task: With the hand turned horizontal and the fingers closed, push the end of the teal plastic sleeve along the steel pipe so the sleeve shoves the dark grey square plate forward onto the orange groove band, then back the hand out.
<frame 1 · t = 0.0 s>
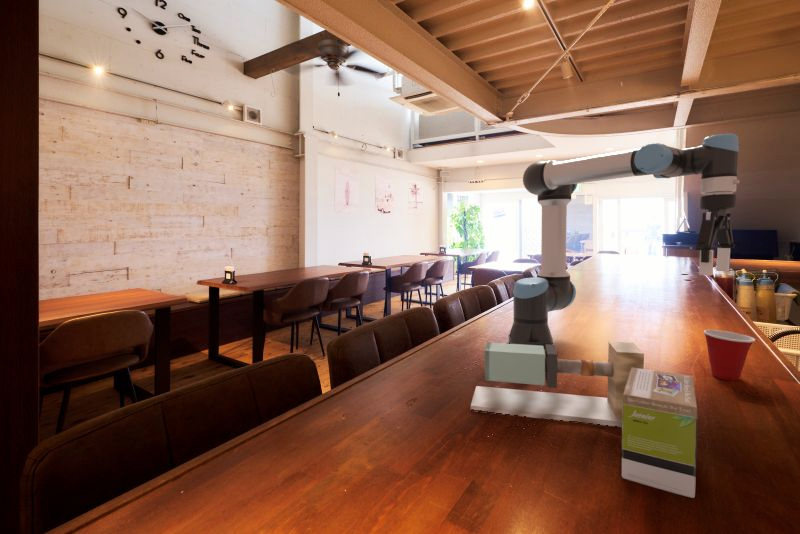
hand: (714, 273, 108), 28 cm above the counter, tool pointing down, fingers open, 13 cm apart
muffin: (519, 378, 111), on the counter
tea box: (657, 467, 68), on the counter
dark grey square plate: (550, 365, 90), point 10 cm above the counter, slide at 0.0 cm
pipe stand: (486, 401, 95), on the counter
plastic cup: (726, 377, 107), on the counter
sleeve: (514, 362, 93), point 10 cm above the counter, slide at 0.0 cm
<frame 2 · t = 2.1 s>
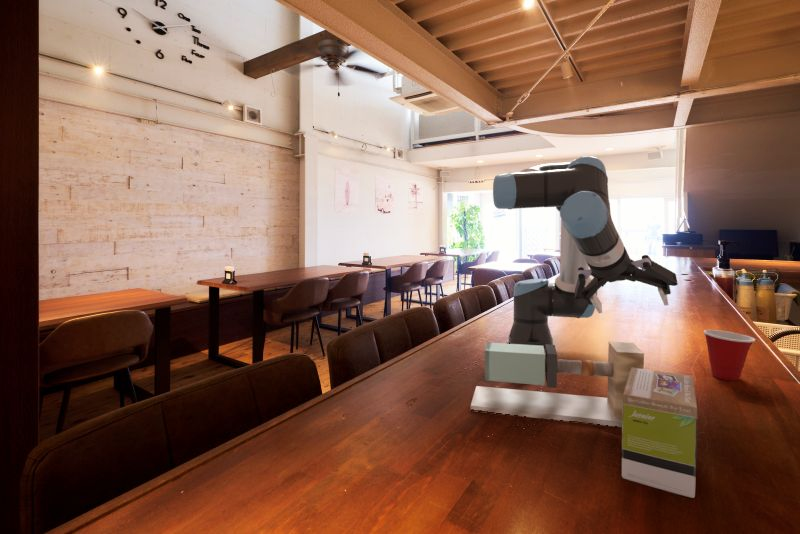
hand: (631, 304, 93), 23 cm above the counter, tool tilted 55°, fingers open, 13 cm apart
nothing on the counter moved.
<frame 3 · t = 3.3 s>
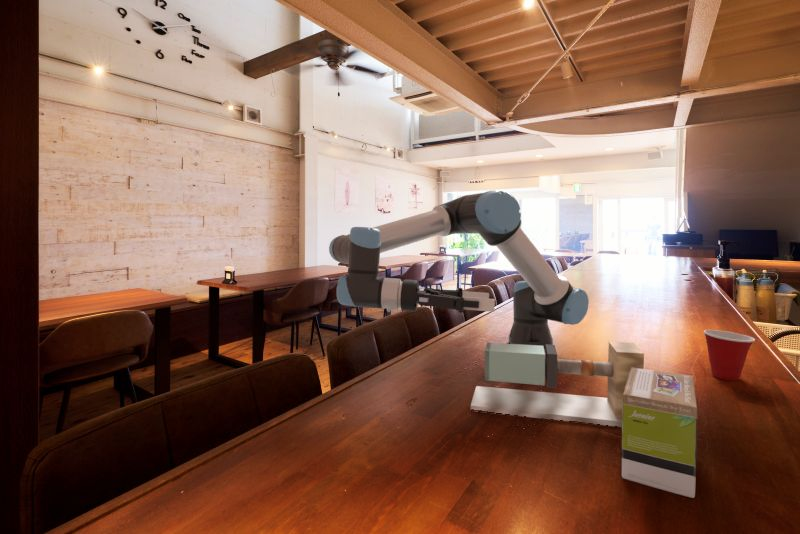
hand: (491, 301, 93), 24 cm above the counter, tool horizontal, fingers open, 13 cm apart
nothing on the counter moved.
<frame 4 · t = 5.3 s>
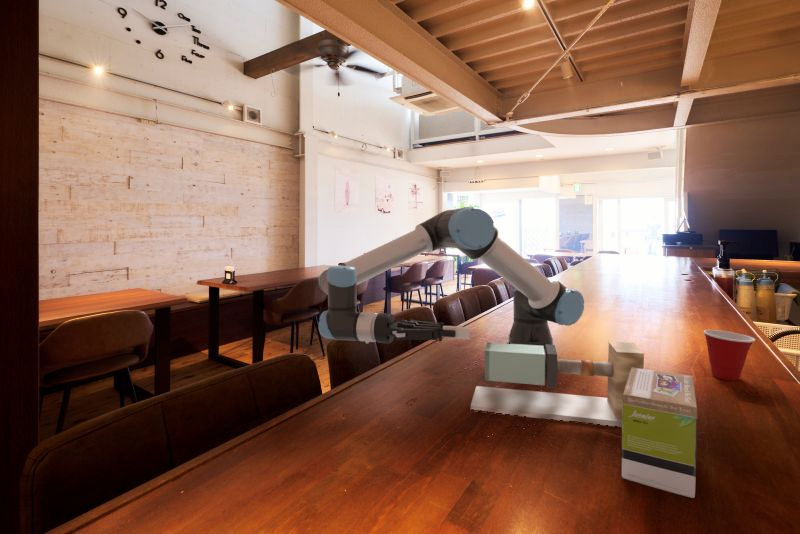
hand: (469, 333, 95), 17 cm above the counter, tool horizontal, fingers closed
nothing on the counter moved.
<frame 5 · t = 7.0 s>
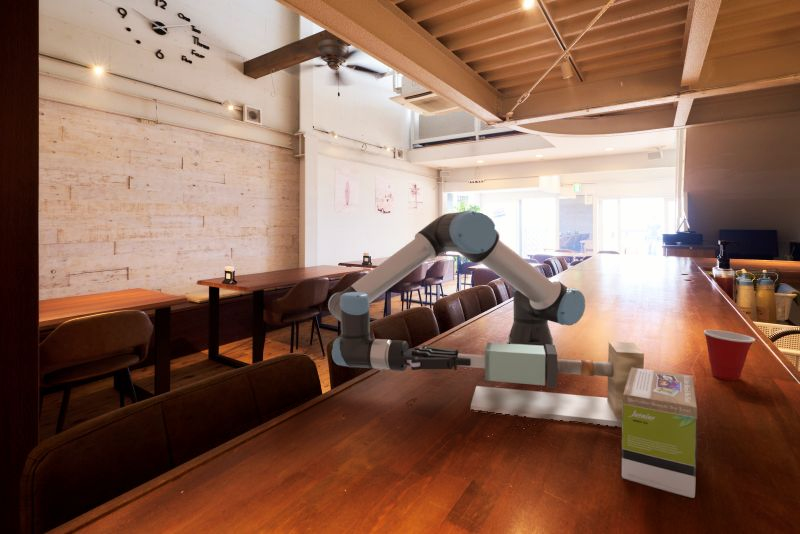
hand: (485, 361, 94), 10 cm above the counter, tool horizontal, fingers closed
sleeve: (514, 362, 93), point 10 cm above the counter, slide at 0.1 cm, touching gripper
everything else where it was.
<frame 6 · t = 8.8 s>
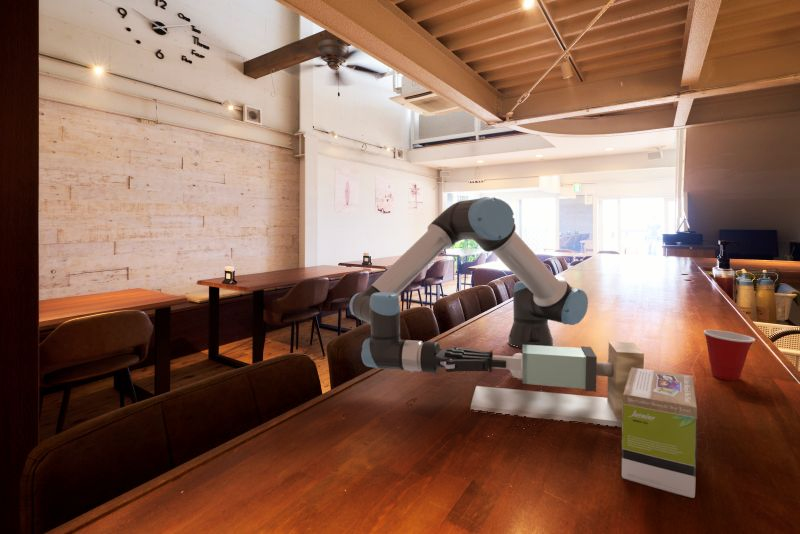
hand: (521, 363, 92), 10 cm above the counter, tool horizontal, fingers closed
dark grey square plate: (588, 368, 88), point 10 cm above the counter, slide at 7.8 cm, touching sleeve
sleeve: (552, 365, 90), point 10 cm above the counter, slide at 8.3 cm, touching gripper, dark grey square plate
everything else where it was.
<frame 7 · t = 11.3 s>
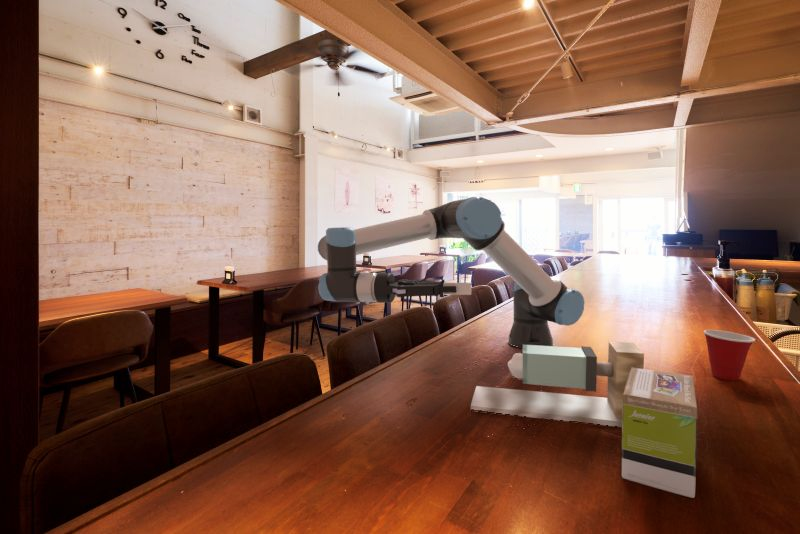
hand: (470, 288, 94), 27 cm above the counter, tool horizontal, fingers closed
sleeve: (552, 365, 90), point 10 cm above the counter, slide at 8.3 cm, touching dark grey square plate
everything else where it was.
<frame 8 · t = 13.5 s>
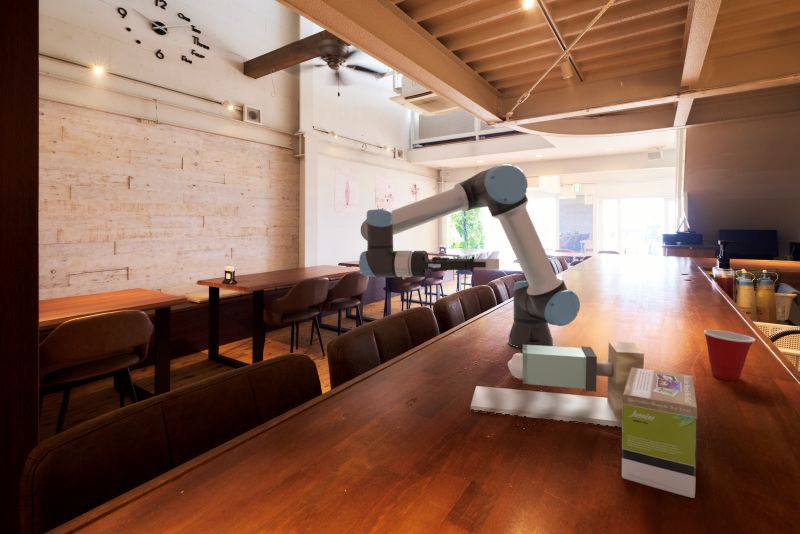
hand: (498, 264, 105), 32 cm above the counter, tool horizontal, fingers closed
nothing on the counter moved.
at the end: dark grey square plate slide at 7.8 cm; sleeve slide at 8.3 cm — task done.
